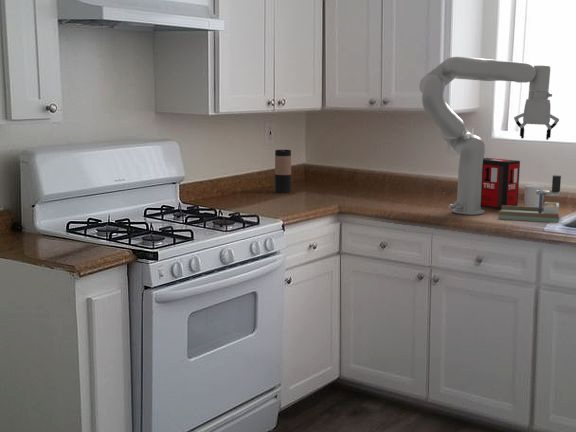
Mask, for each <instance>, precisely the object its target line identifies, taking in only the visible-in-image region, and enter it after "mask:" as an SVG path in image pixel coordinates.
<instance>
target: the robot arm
mask: <svg viewBox="0 0 576 432" xmlns="http://www.w3.org/2000/svg"><path fill="white" fill-rule="evenodd" d="M550 77H551V65H549V64H538V63H537V64H531V63H529V62H518V61H504V60H497V59H489V58H479V57H478V58H477V57H476V58H475V57H464V56H451V57H448V58H447V59H445V60H443V61H442V62H441V63H439V65H437V66H436V67H435V68H434V69H432V70H430V72H428V73H427V74H425V75H424V76H423V77H422V78H421V79H420V81H419V84H418V85H419V91H420V92H421V94H422V96H421V99H422V100H421V103H422V106H423V109H424V111H425V113H426V114H427V115H428V117H429V118H430V119H431V120H432V122H433V123H434V124H435V125H436V129H437V132H438V134H439V135H440V136H441V137H442V138H443V140H444V141H446V143H447V144H449V146H450V147H451V148H452V149H453V150H454V151H455V153H457V155H459V160H458V161H459V162H458V169H457V171H458V172H457V174H458V175H457V191H456V192H457V194H456V195H457V197H456V201H454V203H450V204H448V206H447V207H448V209H449V210H452V212H453V213H455V214H460V215H470V216H472V215H473V216H474V215H476V216H477V215H483V214H485V209H483V208H482V207H481V190H482V169H483V159H484V158H485V154H486V144H485V142H484V140H483V139H482V137H480V136H478V135H476V134H472V133H471V132H470V131H469V129H468V128H467V127H466V125H465V124H466V123H465V122H464V120H463V119H462V118H461V117H460V116H459V115H458V113H456V112H455V111H454V110H453V108H451V107H450V105H449V104H448V103H447V102H446V100H445V99H444V91H445V88H446V86H447V85H449V84H450V83H451V82H452V81H453V80H454V79H458V80H470V81H471V80H472V81H481V82H514V83H520V84H521V83H524V84H525V83H529V84H528V85H529V86H528V87H529V88H528V98H527V99H526V100H525V104H524V108H523V113H521V114H518V115H515V116H514V117H513V119H514V121H515V124H516V125H517V126H518V127H519V130H520V131H519V137H520V139H524V138H525V126H526V125H540V126H541V125H543V126H544V125H545V126H546V128H547V130H546V135H545V136H546V137H545V140H547V141H549V139H550V138H551V135H552V134H551V133H552V132H551V131H552V129H553V128H555V127H556V126H557V125H558V123H559V121H560V118H559V117H557V116H554V115H553V114H551V100H550V99H549V98H551V97H553V93H552V92H549V89H550ZM520 118H522V121H523V122H522V123H521V121H520ZM551 120H553V121H554V122H552V124H550V123H551V122H550V121H551Z"/></svg>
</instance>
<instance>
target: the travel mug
mask: <svg viewBox="0 0 576 432" xmlns="http://www.w3.org/2000/svg"><path fill="white" fill-rule="evenodd" d="M274 154H275V155H274V178H275V179H274V182H275V183H274V188H275V191H274V192H275V193H276V194H290V193H291V188H292V187H291V185H292V184H291V183H292V150H291V149H275V153H274Z"/></svg>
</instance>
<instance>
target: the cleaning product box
mask: <svg viewBox="0 0 576 432" xmlns="http://www.w3.org/2000/svg"><path fill="white" fill-rule="evenodd" d="M520 165H521V160H516V159H515V160H514V159H506V158H505V159H503V158H491V157H484V159H483V169H482V190H481V208H482V207H483V208H490V209H494V210H495V209H497V210H501V208H502V205H508V206H519V201H518V200H519V189H520V187H519V185H520V184H519V183H520Z"/></svg>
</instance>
